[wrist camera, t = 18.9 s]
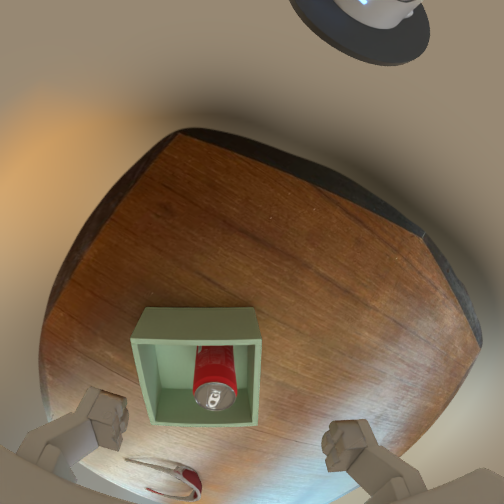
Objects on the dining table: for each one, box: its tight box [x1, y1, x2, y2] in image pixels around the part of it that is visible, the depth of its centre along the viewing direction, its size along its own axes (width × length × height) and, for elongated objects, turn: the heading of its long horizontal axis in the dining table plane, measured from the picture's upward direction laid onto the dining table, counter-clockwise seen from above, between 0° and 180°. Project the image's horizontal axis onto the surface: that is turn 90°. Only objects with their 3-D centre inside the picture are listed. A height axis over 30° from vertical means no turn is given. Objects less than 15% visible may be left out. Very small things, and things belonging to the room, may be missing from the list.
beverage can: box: [193, 345, 237, 411], centre depth 36 cm, size 5×5×12 cm
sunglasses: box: [125, 459, 202, 502], centre depth 50 cm, size 17×17×5 cm
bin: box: [130, 307, 262, 427], centre depth 38 cm, size 16×16×9 cm
